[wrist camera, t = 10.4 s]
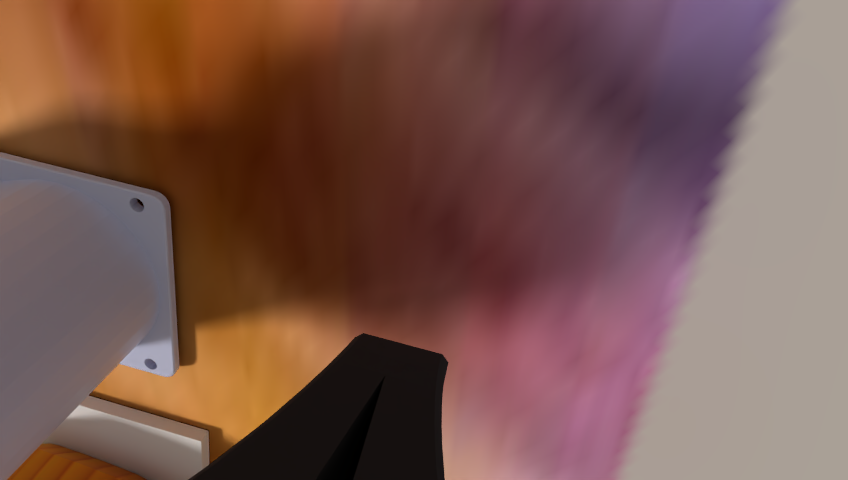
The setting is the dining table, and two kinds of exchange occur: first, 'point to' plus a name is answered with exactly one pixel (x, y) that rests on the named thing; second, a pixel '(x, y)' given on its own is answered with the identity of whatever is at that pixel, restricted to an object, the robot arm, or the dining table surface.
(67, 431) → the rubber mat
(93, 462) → the carrot
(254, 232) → the dining table surface
